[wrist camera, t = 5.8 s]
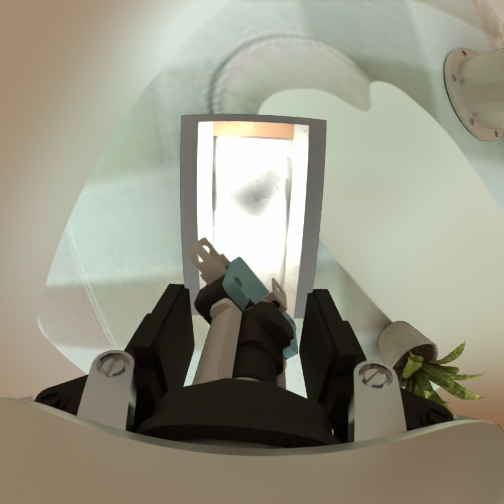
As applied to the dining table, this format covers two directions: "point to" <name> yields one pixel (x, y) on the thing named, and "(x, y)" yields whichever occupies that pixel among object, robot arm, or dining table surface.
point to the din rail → (254, 197)
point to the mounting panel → (311, 199)
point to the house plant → (421, 363)
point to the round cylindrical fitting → (240, 369)
